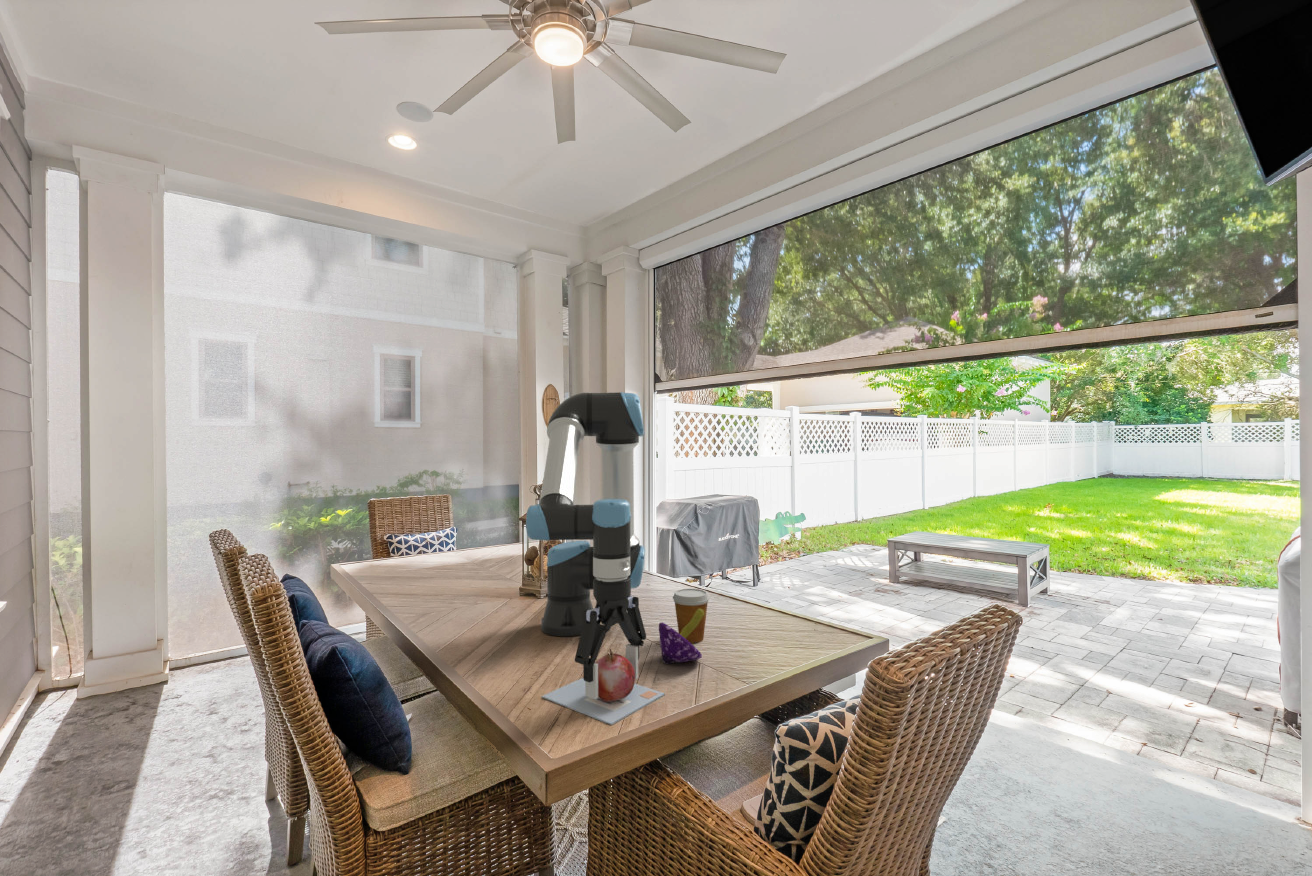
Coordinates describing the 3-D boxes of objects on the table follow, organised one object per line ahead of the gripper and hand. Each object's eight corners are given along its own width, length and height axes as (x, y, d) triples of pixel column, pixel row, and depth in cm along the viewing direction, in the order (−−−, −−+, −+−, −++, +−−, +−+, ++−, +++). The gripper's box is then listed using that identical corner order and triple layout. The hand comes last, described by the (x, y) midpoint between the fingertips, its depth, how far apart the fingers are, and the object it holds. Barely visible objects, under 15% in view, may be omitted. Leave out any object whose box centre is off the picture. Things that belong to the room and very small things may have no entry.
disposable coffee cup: (707, 646, 149) (707, 598, 149) (670, 643, 151) (669, 596, 151) (711, 633, 158) (711, 588, 158) (676, 631, 160) (676, 587, 160)
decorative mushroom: (674, 589, 146) (635, 640, 141) (695, 596, 135) (655, 651, 130) (708, 621, 149) (672, 672, 144) (732, 630, 137) (694, 686, 132)
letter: (542, 697, 120) (542, 695, 120) (597, 672, 133) (597, 670, 133) (611, 725, 108) (611, 722, 108) (664, 694, 121) (664, 692, 121)
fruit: (614, 684, 126) (614, 636, 126) (644, 697, 119) (645, 647, 119) (579, 696, 119) (579, 646, 119) (609, 712, 112) (609, 659, 113)
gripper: (583, 592, 107) (583, 713, 107) (662, 569, 126) (663, 672, 126) (554, 586, 112) (555, 702, 112) (635, 564, 131) (636, 664, 131)
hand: (612, 686), depth 119 cm, fingers open, 11 cm apart
